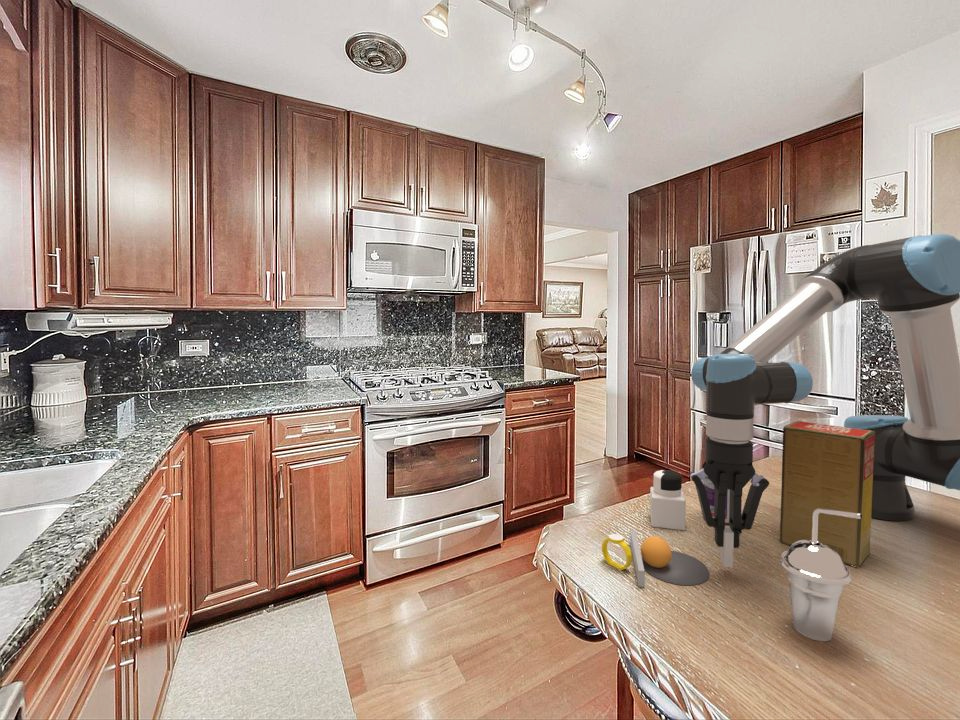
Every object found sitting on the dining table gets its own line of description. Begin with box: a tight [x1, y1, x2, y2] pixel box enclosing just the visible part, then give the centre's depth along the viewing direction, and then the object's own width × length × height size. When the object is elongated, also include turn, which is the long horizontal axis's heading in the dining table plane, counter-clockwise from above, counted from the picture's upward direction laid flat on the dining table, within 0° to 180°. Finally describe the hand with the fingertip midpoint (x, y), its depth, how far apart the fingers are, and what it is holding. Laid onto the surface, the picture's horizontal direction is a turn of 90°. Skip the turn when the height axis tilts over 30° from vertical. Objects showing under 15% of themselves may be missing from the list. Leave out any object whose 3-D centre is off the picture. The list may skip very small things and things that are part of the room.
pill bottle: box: [703, 475, 743, 524], centre depth 103 cm, size 8×8×14 cm
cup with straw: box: [779, 508, 862, 642], centre depth 64 cm, size 8×9×20 cm
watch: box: [601, 533, 633, 571], centre depth 84 cm, size 6×3×6 cm, turn 37°
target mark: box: [641, 550, 710, 587], centre depth 83 cm, size 12×12×1 cm
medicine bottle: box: [649, 469, 687, 531], centre depth 101 cm, size 7×7×12 cm
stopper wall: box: [629, 528, 646, 588], centre depth 85 cm, size 1×16×3 cm, turn 166°
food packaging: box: [779, 420, 875, 568], centre depth 88 cm, size 13×9×25 cm
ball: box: [640, 536, 672, 568], centre depth 83 cm, size 6×6×6 cm
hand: (726, 562), depth 81 cm, fingers closed
